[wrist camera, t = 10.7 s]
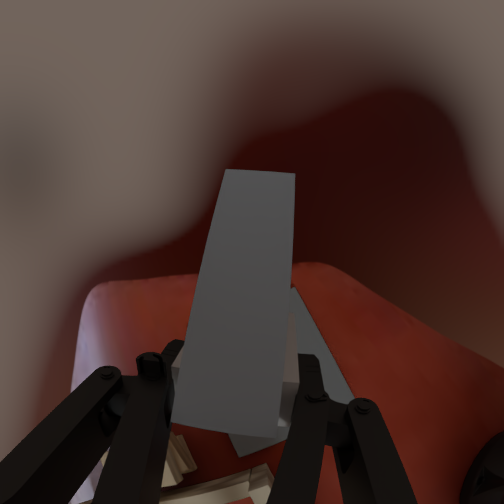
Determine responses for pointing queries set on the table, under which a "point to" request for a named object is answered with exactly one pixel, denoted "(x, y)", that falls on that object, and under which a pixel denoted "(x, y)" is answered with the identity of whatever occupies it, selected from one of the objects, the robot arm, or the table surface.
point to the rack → (223, 489)
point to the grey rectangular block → (240, 310)
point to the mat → (331, 374)
